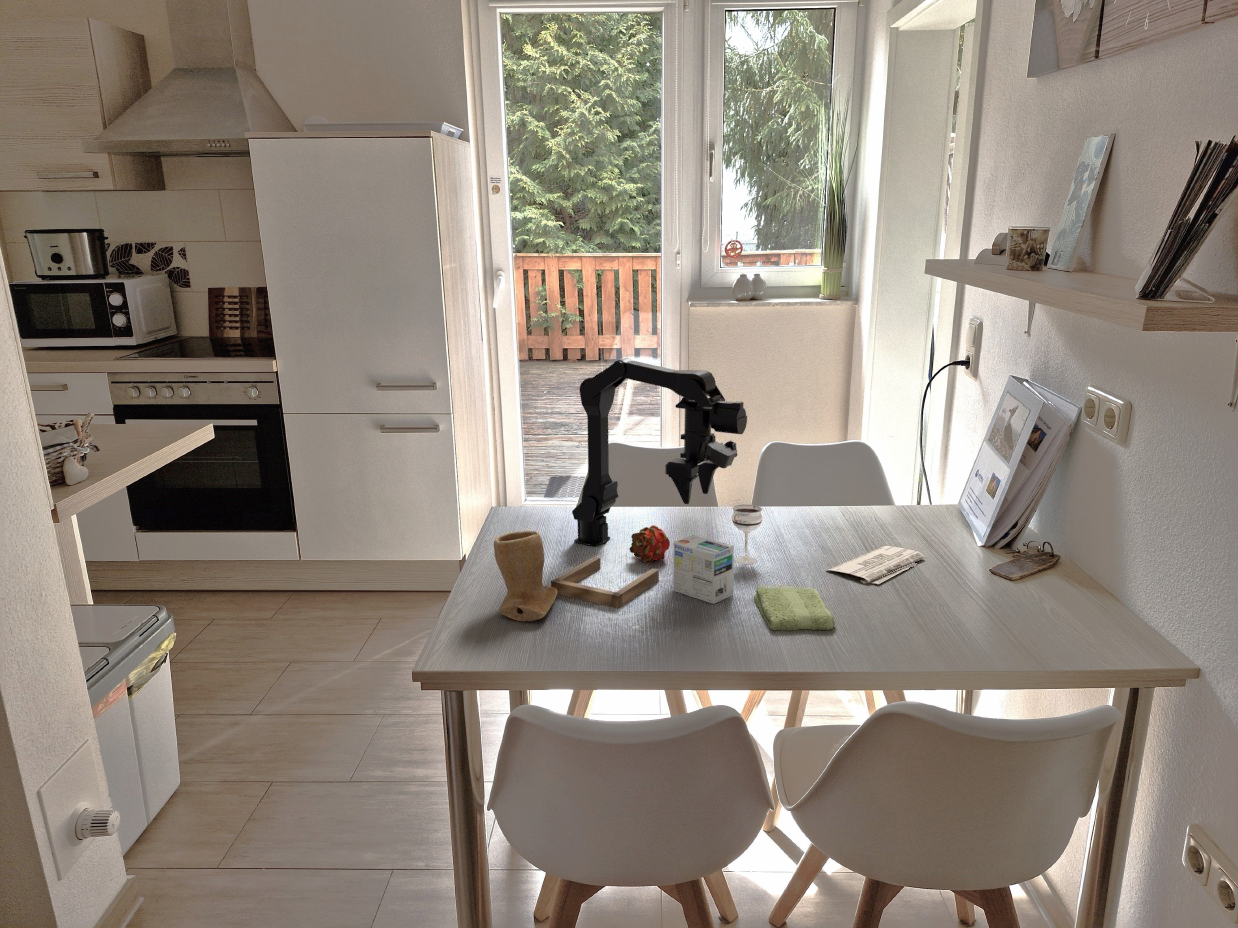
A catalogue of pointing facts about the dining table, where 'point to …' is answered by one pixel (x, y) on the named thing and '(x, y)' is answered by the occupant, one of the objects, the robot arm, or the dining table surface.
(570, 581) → the frame
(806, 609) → the washcloth
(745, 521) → the wineglass
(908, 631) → the dining table surface
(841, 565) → the newspaper
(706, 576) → the light bulb box
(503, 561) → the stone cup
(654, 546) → the dragon fruit
